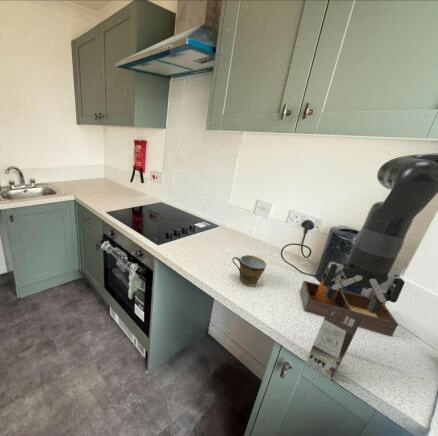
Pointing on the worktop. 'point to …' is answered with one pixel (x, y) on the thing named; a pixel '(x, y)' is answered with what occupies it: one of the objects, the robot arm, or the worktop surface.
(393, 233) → the robot arm
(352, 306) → the holder
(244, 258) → the ceramic cup
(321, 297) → the spice bottle
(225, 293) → the worktop surface
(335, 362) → the coffee box
